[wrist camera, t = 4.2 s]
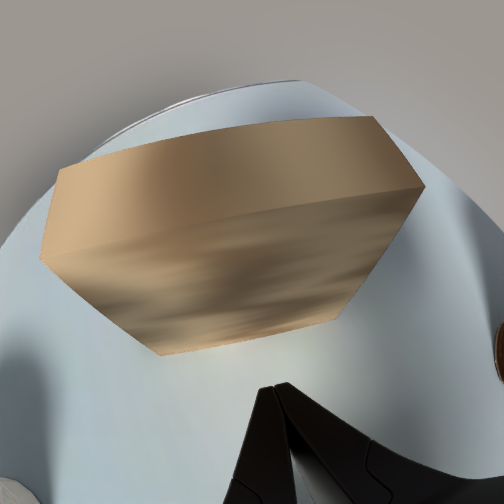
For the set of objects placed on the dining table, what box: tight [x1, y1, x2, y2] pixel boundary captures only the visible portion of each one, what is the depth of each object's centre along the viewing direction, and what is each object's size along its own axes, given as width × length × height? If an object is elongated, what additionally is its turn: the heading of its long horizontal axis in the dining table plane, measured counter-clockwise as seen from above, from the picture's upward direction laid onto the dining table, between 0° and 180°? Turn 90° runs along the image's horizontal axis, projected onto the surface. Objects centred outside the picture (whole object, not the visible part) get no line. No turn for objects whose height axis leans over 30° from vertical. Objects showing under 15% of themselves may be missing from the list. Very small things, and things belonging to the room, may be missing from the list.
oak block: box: [40, 116, 426, 356], centre depth 13 cm, size 11×4×12 cm, turn 103°
